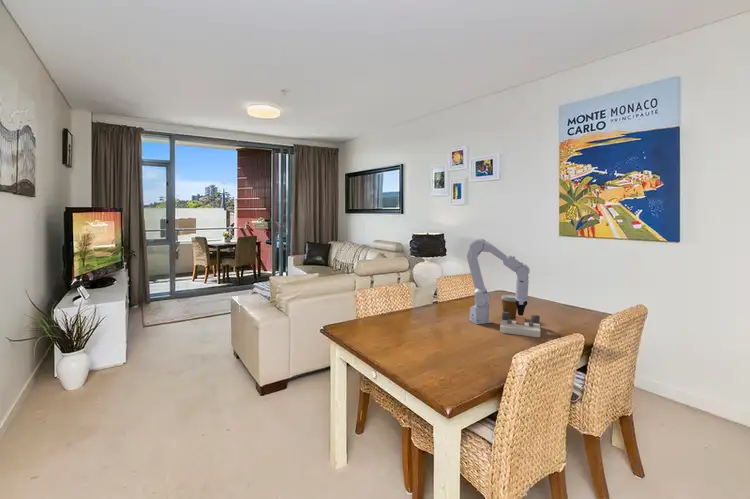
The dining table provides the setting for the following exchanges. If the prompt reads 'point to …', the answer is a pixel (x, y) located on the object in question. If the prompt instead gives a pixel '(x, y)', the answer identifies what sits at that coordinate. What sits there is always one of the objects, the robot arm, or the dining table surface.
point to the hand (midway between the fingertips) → (520, 315)
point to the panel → (520, 328)
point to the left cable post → (505, 315)
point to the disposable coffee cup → (509, 304)
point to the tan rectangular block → (520, 320)
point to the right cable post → (535, 319)
